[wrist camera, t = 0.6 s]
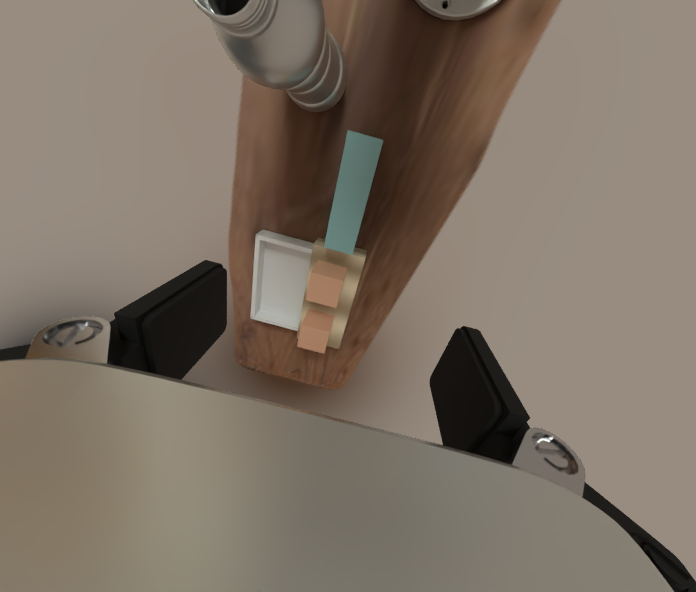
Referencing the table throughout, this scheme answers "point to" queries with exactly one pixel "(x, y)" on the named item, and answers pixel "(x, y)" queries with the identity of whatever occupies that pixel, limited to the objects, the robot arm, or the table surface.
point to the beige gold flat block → (347, 293)
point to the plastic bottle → (282, 47)
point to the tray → (279, 278)
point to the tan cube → (326, 283)
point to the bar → (352, 191)
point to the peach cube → (315, 331)
